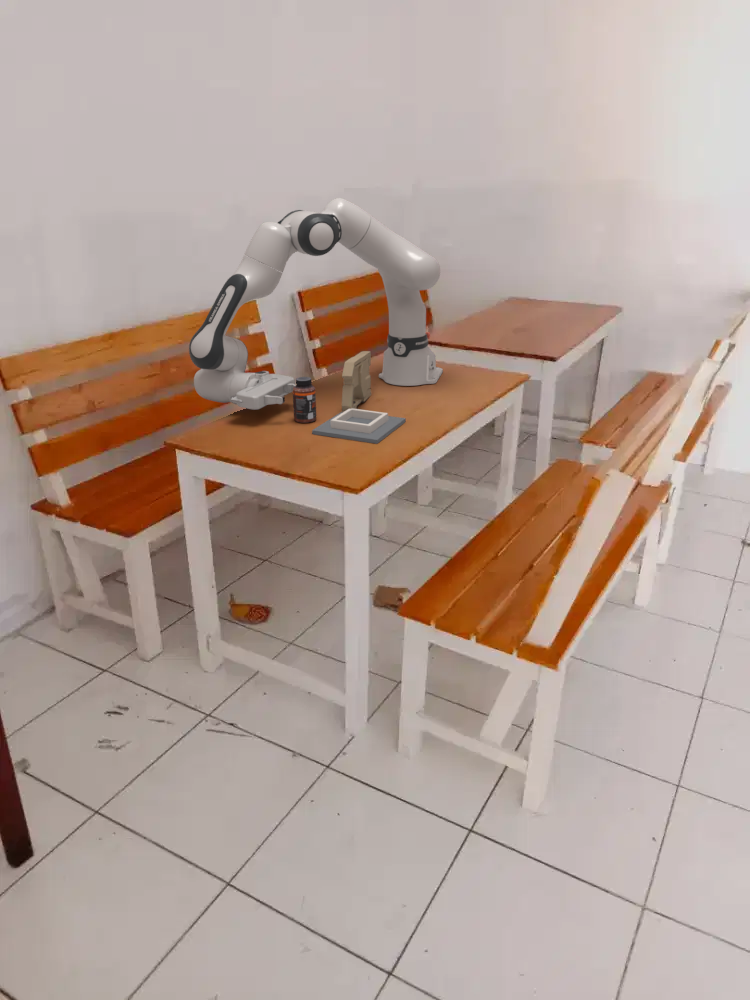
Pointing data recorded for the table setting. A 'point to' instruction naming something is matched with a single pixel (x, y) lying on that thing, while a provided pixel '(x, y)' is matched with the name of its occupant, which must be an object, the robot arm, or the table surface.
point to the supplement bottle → (304, 400)
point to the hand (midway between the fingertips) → (292, 395)
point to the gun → (356, 380)
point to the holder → (360, 425)
